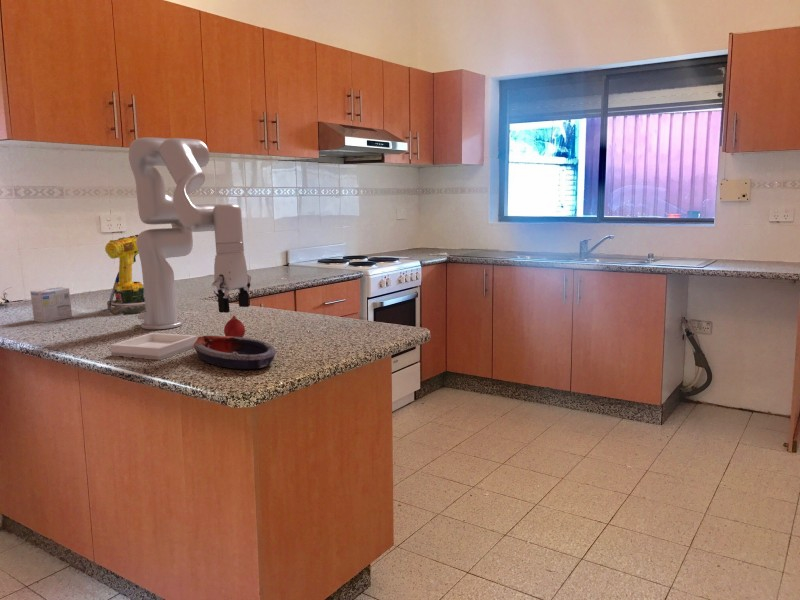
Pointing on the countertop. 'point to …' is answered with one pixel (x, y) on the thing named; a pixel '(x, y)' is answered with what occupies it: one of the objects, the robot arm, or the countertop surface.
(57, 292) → the light bulb box
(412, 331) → the countertop surface
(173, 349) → the tray
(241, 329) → the onion
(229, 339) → the dish
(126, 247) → the cordless drill
